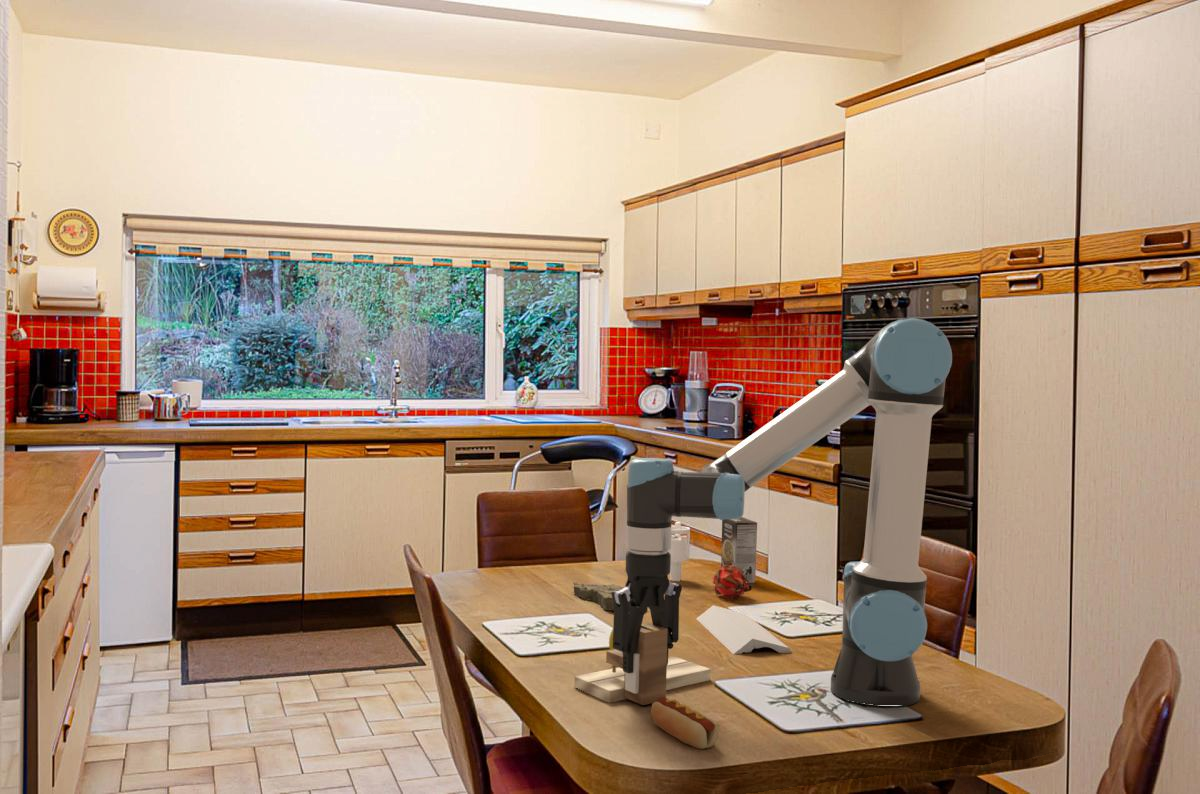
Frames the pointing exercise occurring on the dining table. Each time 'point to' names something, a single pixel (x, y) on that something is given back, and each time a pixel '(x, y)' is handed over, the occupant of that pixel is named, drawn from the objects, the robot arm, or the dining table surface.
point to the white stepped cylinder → (679, 550)
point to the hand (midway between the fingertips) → (645, 688)
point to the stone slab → (597, 594)
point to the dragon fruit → (730, 582)
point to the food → (684, 723)
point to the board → (612, 683)
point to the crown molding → (738, 631)
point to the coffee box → (740, 545)
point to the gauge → (646, 664)
